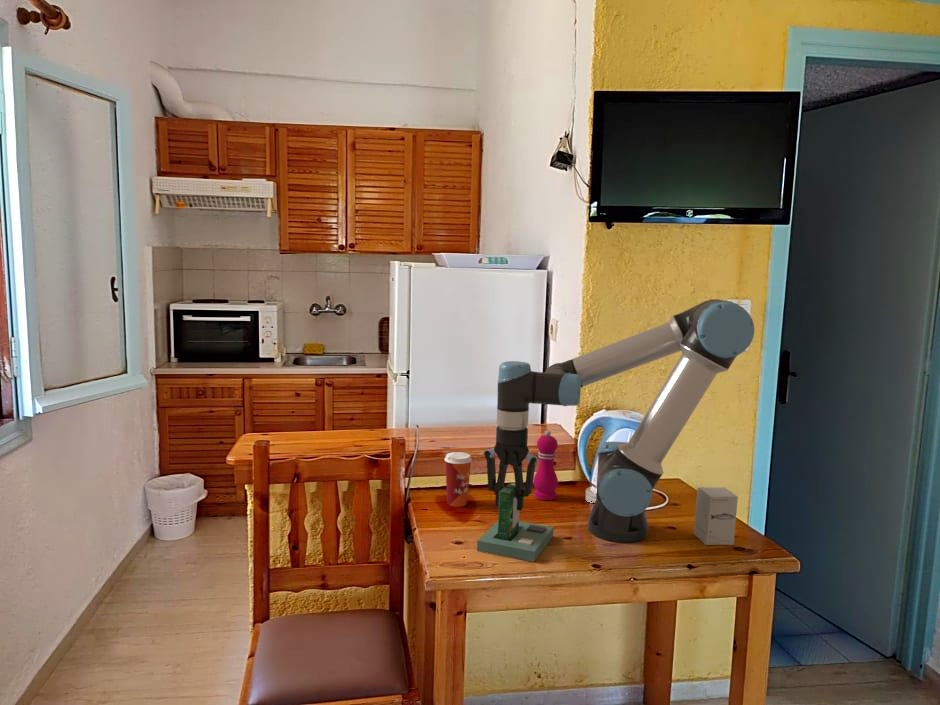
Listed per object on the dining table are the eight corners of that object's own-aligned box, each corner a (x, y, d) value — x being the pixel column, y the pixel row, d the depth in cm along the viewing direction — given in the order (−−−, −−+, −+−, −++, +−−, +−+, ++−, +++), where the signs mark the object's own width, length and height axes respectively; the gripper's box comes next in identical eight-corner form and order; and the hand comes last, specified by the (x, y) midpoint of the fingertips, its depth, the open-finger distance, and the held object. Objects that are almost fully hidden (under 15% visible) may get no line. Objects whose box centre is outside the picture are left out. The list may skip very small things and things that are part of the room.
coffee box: (508, 531, 167) (510, 481, 165) (519, 534, 166) (521, 483, 164) (496, 543, 160) (498, 490, 158) (507, 546, 159) (509, 492, 157)
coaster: (618, 510, 187) (618, 498, 186) (582, 505, 190) (583, 493, 189) (621, 499, 196) (622, 487, 196) (587, 494, 199) (588, 483, 199)
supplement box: (705, 546, 163) (709, 496, 162) (693, 534, 171) (696, 486, 169) (734, 545, 164) (738, 496, 162) (721, 533, 171) (724, 486, 170)
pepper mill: (539, 502, 191) (542, 434, 188) (528, 494, 197) (530, 428, 195) (562, 500, 193) (564, 432, 191) (550, 492, 200) (552, 426, 197)
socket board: (553, 536, 167) (553, 525, 166) (533, 562, 152) (534, 549, 152) (500, 527, 172) (500, 516, 172) (477, 550, 157) (477, 538, 157)
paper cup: (461, 510, 183) (462, 460, 182) (438, 504, 187) (439, 456, 186) (476, 502, 190) (477, 454, 188) (453, 496, 194) (454, 449, 192)
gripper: (549, 427, 160) (544, 521, 163) (486, 419, 166) (483, 510, 169) (539, 434, 153) (535, 532, 156) (475, 425, 159) (472, 520, 162)
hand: (508, 520), depth 162 cm, fingers closed on coffee box, 3 cm apart
